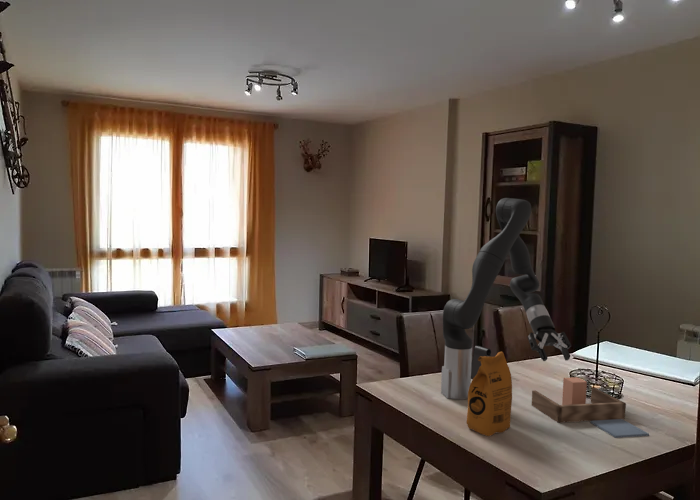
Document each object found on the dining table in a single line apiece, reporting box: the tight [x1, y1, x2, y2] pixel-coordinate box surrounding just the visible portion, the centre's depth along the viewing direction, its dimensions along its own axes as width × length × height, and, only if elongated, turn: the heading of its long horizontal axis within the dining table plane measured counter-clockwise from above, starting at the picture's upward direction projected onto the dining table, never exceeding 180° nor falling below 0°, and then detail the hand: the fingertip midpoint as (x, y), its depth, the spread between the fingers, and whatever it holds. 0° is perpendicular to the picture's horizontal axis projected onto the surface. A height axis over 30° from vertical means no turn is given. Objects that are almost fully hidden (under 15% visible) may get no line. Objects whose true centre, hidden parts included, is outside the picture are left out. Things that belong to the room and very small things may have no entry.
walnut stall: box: [531, 387, 627, 424], centre depth 167 cm, size 23×15×5 cm, turn 101°
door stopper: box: [471, 345, 492, 380], centre depth 201 cm, size 9×6×12 cm, turn 124°
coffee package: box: [465, 351, 513, 437], centre depth 152 cm, size 10×12×22 cm
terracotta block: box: [561, 376, 588, 405], centre depth 169 cm, size 5×5×10 cm
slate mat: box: [589, 419, 650, 439], centre depth 154 cm, size 11×11×1 cm
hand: (556, 359), depth 178 cm, fingers open, 8 cm apart
